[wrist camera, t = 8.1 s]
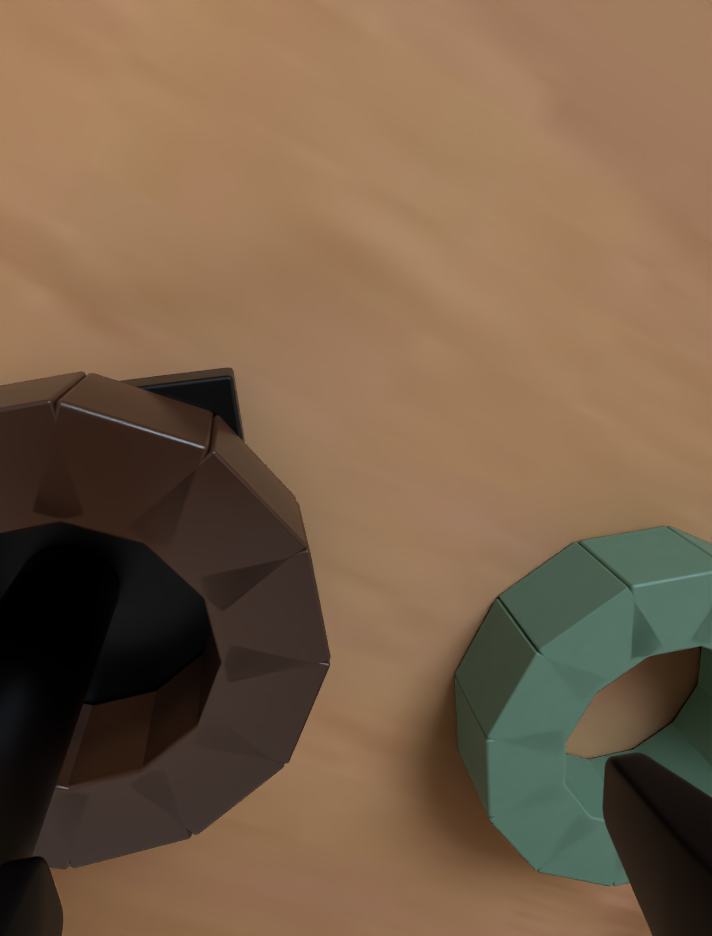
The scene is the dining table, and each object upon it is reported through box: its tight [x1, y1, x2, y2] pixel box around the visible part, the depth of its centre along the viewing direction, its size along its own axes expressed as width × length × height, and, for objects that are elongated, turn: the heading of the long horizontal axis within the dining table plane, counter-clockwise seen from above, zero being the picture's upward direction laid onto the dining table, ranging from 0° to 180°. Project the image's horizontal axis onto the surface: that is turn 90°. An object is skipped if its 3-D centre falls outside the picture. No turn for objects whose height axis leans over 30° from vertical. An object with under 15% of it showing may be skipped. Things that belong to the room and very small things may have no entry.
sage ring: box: [455, 526, 712, 886], centre depth 17 cm, size 9×9×2 cm
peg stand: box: [0, 367, 245, 866], centre depth 11 cm, size 8×8×8 cm
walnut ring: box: [0, 372, 330, 869], centre depth 12 cm, size 9×9×2 cm
